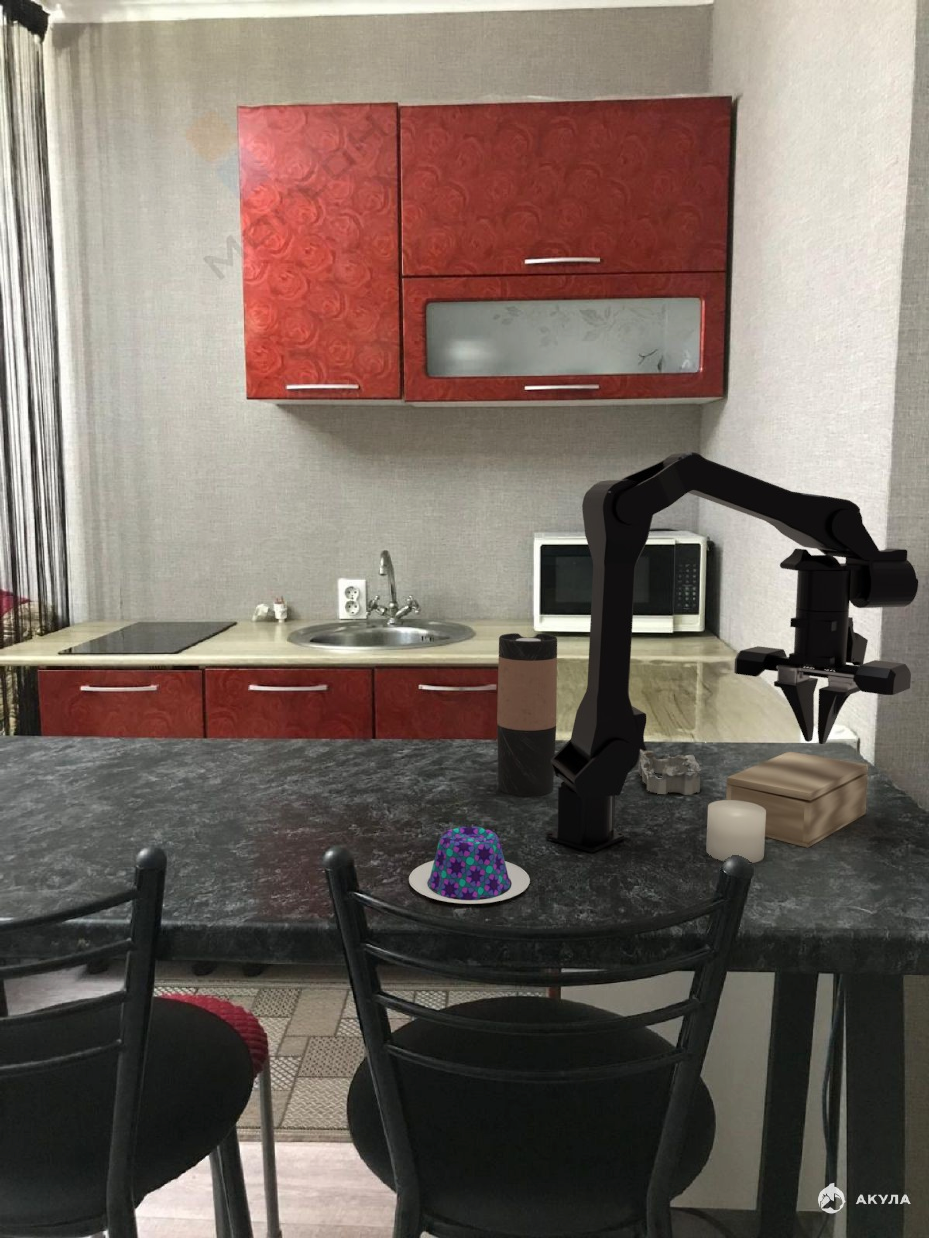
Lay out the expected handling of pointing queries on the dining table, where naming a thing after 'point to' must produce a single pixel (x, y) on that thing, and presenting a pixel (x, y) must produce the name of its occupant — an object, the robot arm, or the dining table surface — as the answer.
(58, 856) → the dining table surface
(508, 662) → the travel mug
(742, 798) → the storage box
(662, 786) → the egg carton
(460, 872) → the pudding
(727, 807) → the beige tapered cylinder
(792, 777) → the box lid
